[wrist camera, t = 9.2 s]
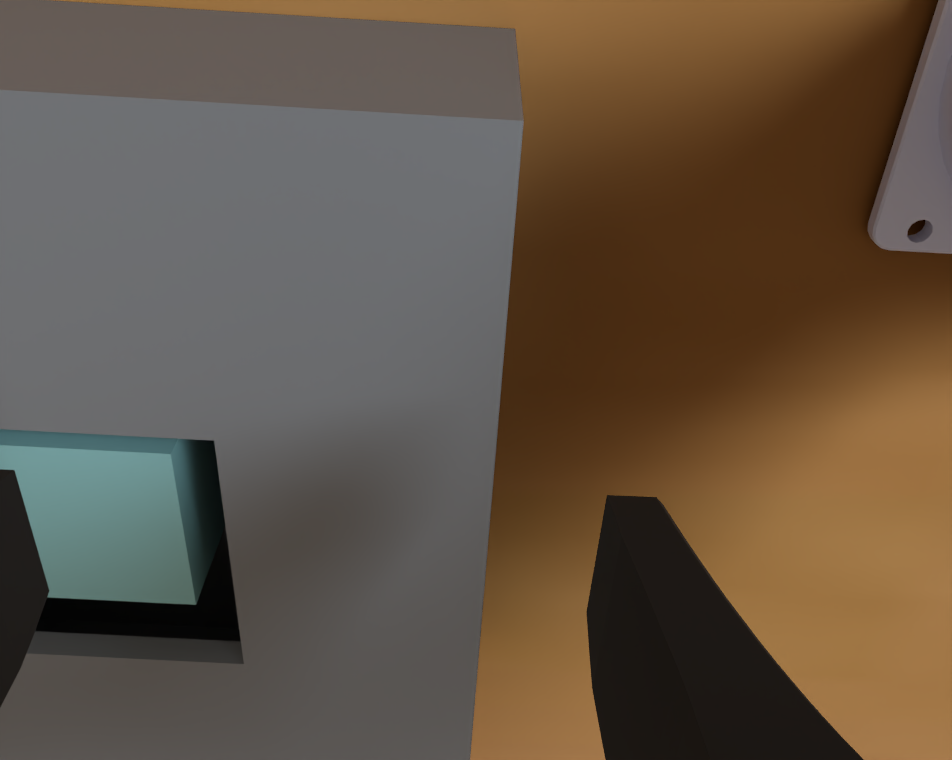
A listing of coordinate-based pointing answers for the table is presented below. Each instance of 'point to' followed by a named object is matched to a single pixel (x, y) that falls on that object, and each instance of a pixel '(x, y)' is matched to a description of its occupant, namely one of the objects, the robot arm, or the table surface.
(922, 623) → the table surface
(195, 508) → the teal rectangular block
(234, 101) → the gray slotted box
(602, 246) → the table surface
